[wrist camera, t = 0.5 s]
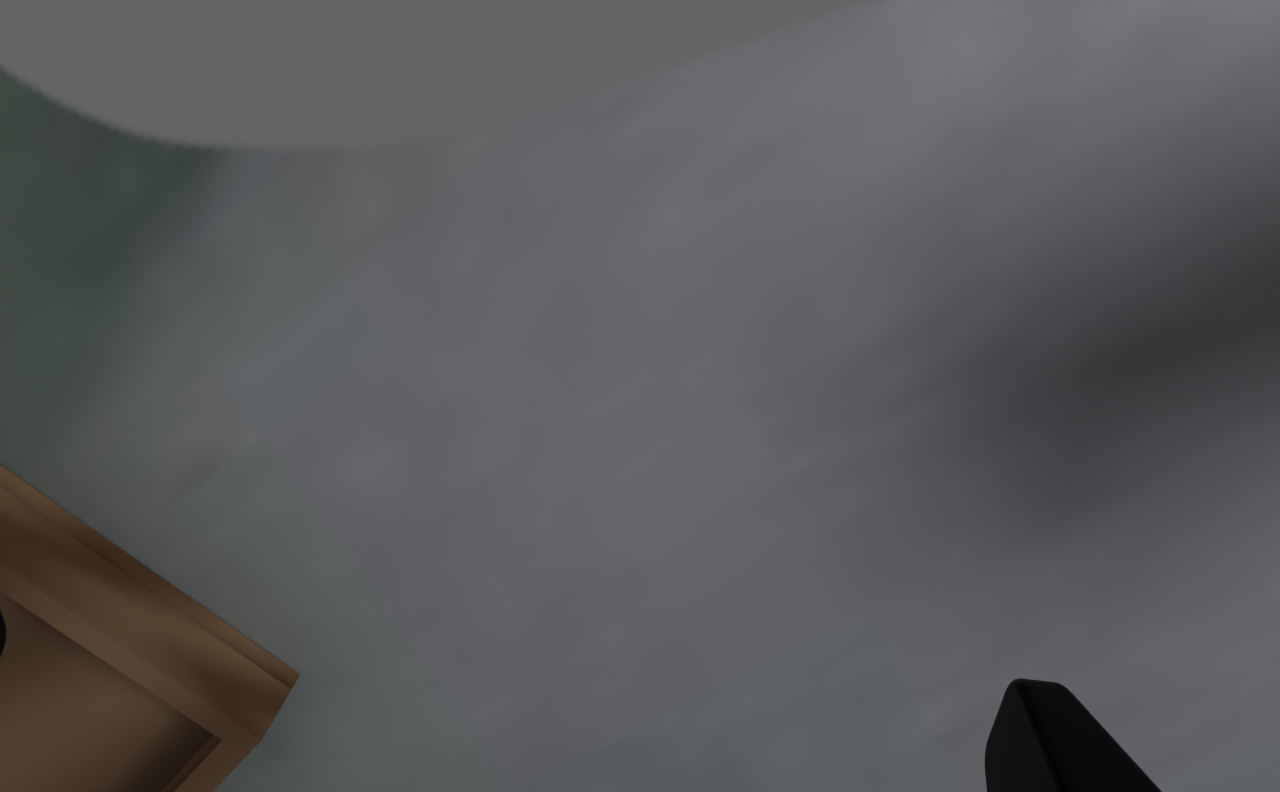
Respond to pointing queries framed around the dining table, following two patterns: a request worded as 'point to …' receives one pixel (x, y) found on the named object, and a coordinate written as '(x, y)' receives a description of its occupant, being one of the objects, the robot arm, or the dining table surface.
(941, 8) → the dining table surface
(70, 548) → the walnut tray
